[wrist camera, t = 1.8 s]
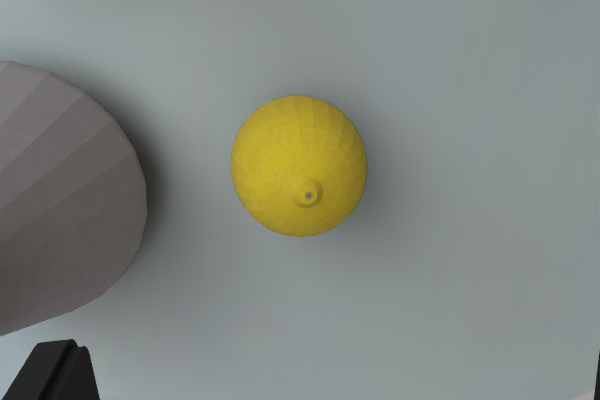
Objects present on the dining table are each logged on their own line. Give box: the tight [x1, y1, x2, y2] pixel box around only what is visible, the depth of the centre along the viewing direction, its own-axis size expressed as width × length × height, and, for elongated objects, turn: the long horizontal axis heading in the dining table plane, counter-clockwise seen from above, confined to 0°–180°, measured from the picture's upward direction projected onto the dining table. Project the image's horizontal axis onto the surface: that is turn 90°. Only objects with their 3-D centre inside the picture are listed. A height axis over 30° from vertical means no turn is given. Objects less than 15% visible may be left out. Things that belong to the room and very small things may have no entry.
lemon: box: [231, 96, 367, 237], centre depth 23 cm, size 6×6×8 cm
